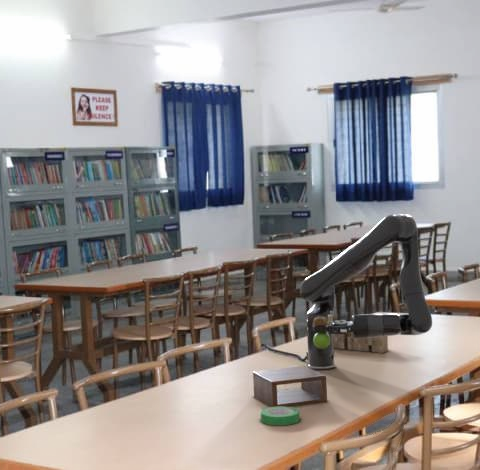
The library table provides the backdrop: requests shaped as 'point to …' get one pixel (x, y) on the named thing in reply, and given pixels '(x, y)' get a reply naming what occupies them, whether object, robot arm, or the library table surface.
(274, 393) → the shelf
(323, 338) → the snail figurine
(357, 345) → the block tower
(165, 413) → the library table surface
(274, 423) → the tape roll
